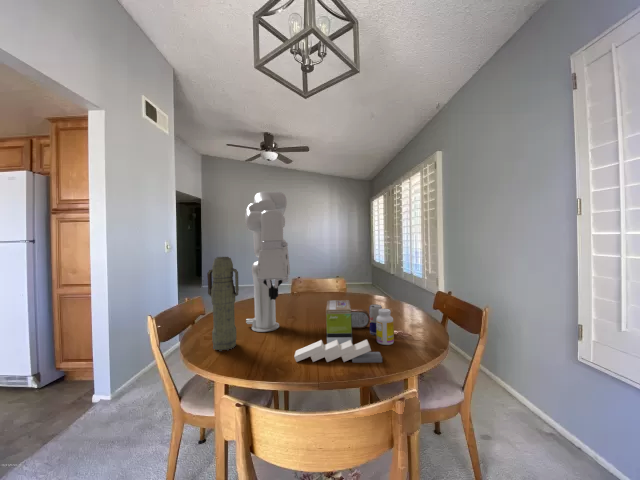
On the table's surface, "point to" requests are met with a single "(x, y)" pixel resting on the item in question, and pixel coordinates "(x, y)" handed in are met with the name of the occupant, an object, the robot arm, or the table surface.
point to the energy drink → (373, 317)
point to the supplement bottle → (385, 327)
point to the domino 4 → (357, 350)
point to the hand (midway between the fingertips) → (273, 298)
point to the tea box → (339, 321)
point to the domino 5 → (368, 357)
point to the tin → (360, 318)
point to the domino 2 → (327, 350)
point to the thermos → (223, 302)
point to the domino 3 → (341, 351)
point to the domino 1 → (309, 350)
